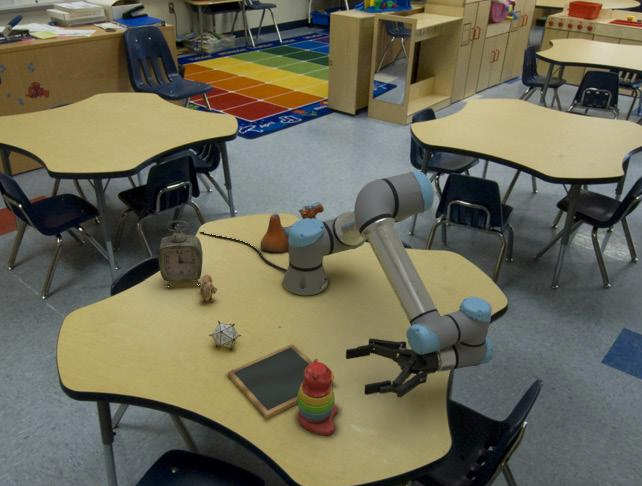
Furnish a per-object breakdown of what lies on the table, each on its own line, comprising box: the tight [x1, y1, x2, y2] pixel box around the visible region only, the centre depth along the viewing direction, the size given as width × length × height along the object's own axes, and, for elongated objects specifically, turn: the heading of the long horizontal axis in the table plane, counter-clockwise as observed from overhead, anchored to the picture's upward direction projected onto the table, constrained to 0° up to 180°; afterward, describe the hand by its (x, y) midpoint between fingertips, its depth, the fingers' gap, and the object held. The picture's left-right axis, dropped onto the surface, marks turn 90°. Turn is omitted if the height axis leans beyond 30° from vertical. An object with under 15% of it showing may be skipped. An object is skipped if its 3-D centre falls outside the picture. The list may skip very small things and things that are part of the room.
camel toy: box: [260, 201, 325, 253], centre depth 224 cm, size 25×13×17 cm, turn 89°
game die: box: [208, 320, 242, 351], centre depth 175 cm, size 9×8×10 cm
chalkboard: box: [227, 343, 334, 420], centre depth 163 cm, size 20×22×2 cm
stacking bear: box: [297, 358, 339, 436], centre depth 146 cm, size 11×10×18 cm
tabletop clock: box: [157, 220, 204, 289], centre depth 201 cm, size 14×9×25 cm, turn 93°
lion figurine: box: [200, 274, 218, 305], centre depth 197 cm, size 15×5×9 cm, turn 14°
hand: (355, 371), depth 147 cm, fingers open, 13 cm apart
